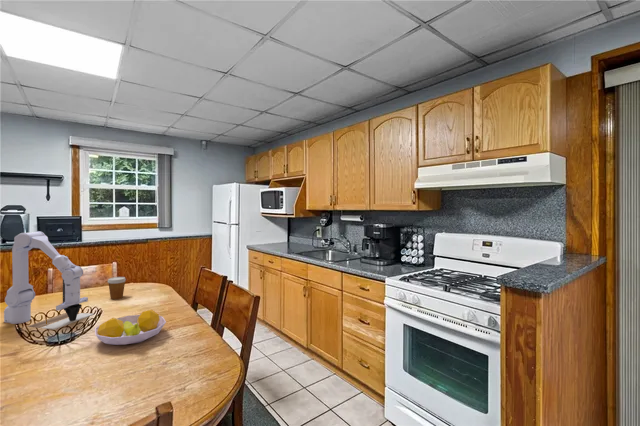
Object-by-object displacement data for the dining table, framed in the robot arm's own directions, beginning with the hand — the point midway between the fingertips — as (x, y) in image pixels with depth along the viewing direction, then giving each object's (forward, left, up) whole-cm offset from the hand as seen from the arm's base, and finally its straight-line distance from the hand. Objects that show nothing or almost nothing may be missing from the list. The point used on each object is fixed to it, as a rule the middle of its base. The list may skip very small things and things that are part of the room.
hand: (72, 320), depth 151 cm
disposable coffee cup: (-13, +40, -2) cm, 42 cm away
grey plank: (-2, 0, -1) cm, 2 cm away
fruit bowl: (+39, -9, -2) cm, 40 cm away
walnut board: (-10, 0, -2) cm, 10 cm away
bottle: (-32, +27, -2) cm, 42 cm away
